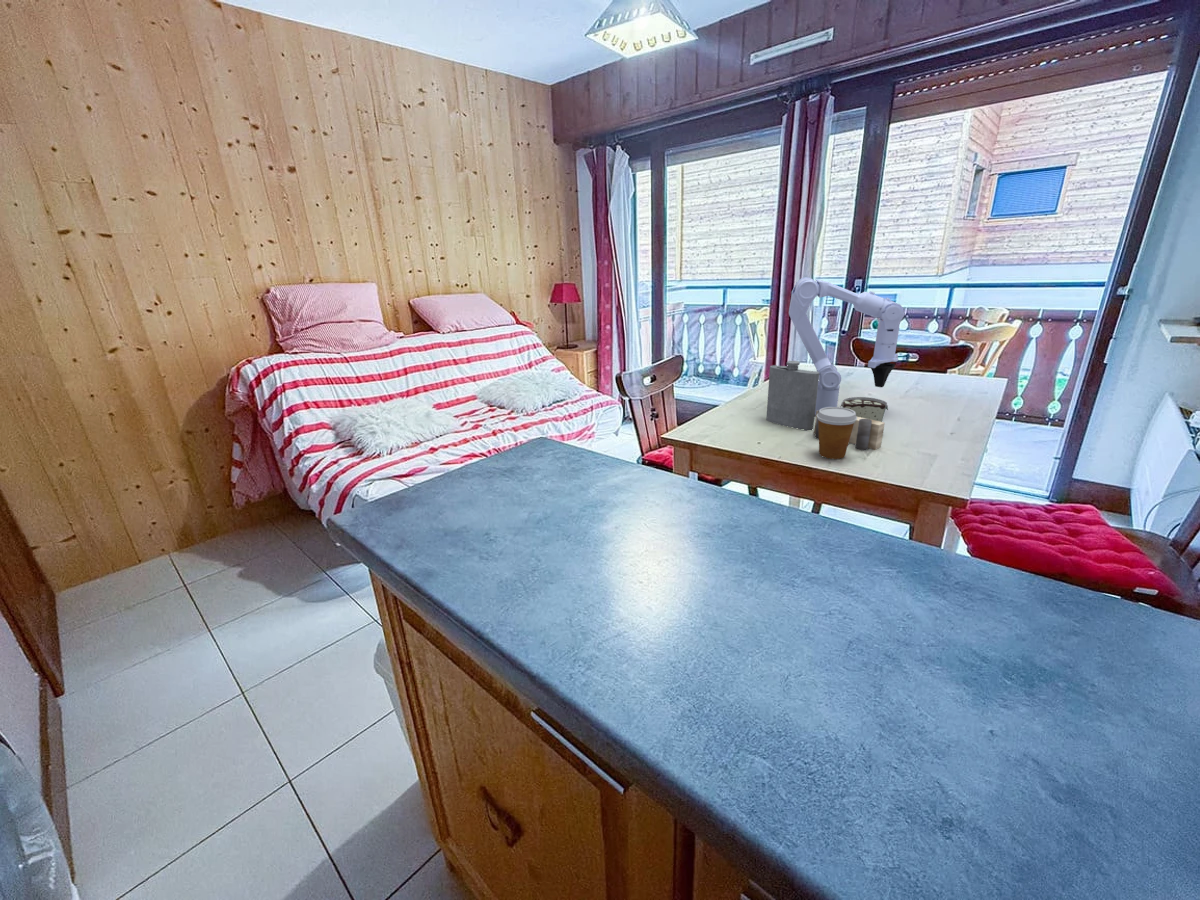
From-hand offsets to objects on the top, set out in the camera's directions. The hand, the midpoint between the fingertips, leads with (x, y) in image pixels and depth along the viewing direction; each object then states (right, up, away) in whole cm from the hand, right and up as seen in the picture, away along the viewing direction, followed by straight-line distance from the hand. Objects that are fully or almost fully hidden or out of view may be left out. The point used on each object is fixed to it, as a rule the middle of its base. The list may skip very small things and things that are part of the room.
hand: (879, 386), depth 157 cm
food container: (-11, -15, -9) cm, 21 cm away
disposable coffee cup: (-26, -21, -23) cm, 41 cm away
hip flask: (-29, -12, 0) cm, 31 cm away
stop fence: (-19, -17, -15) cm, 30 cm away
